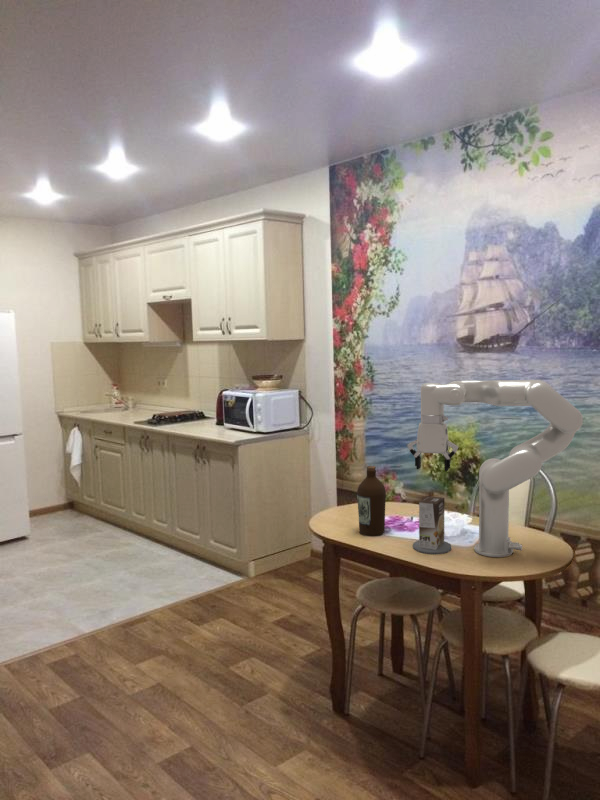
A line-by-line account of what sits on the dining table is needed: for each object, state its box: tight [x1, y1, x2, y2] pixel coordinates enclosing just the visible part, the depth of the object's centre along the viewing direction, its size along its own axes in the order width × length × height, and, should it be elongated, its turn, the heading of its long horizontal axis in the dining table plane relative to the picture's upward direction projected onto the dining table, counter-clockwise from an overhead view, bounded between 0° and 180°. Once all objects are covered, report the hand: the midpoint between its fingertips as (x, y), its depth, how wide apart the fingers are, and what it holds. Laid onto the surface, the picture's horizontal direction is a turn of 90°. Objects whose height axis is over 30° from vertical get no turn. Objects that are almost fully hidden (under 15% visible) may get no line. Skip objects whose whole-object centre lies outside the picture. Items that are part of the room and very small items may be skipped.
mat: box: [412, 539, 452, 555], centre depth 226 cm, size 13×13×1 cm
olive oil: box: [356, 465, 387, 537], centre depth 243 cm, size 11×11×25 cm
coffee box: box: [418, 496, 445, 550], centre depth 225 cm, size 9×6×16 cm
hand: (432, 469), depth 223 cm, fingers open, 9 cm apart
